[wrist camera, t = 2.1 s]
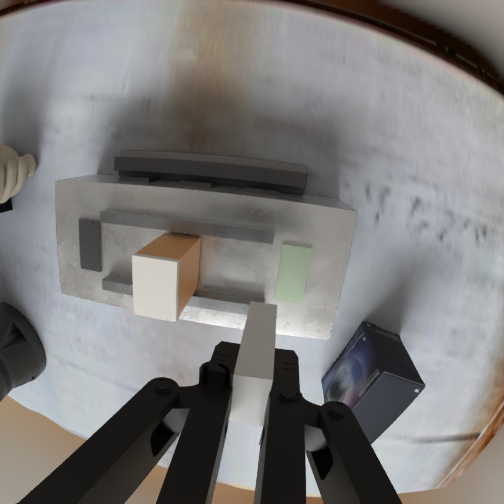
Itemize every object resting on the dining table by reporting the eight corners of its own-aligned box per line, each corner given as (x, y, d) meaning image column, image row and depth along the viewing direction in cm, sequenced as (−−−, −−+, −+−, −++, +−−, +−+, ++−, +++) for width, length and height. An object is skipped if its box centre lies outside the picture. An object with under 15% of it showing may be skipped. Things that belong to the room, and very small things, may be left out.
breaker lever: (163, 280, 27) (134, 313, 21) (164, 232, 26) (132, 255, 20) (197, 286, 27) (175, 322, 21) (200, 237, 26) (177, 262, 20)
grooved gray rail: (124, 175, 33) (113, 176, 31) (126, 150, 32) (115, 150, 30) (302, 193, 32) (304, 195, 30) (305, 165, 31) (308, 166, 29)
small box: (360, 317, 36) (384, 370, 26) (400, 334, 36) (429, 385, 26) (318, 380, 39) (325, 438, 29) (356, 392, 39) (371, 447, 29)
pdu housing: (96, 268, 37) (54, 298, 28) (96, 171, 33) (47, 178, 24) (319, 302, 36) (331, 347, 27) (339, 195, 32) (362, 209, 23)
